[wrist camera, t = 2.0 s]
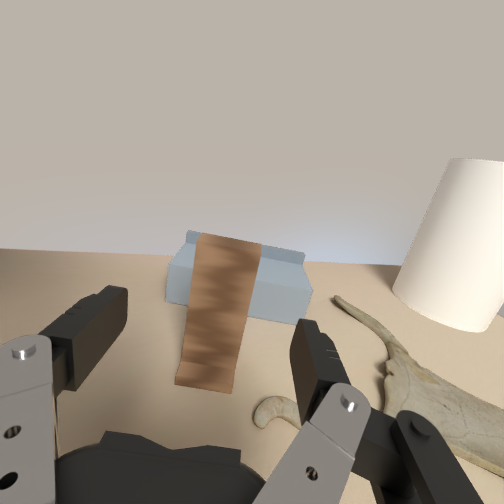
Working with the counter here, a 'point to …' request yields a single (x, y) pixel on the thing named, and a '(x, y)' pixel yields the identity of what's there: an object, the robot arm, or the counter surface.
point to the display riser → (265, 288)
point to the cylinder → (459, 249)
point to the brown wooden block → (217, 311)
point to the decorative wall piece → (421, 403)
